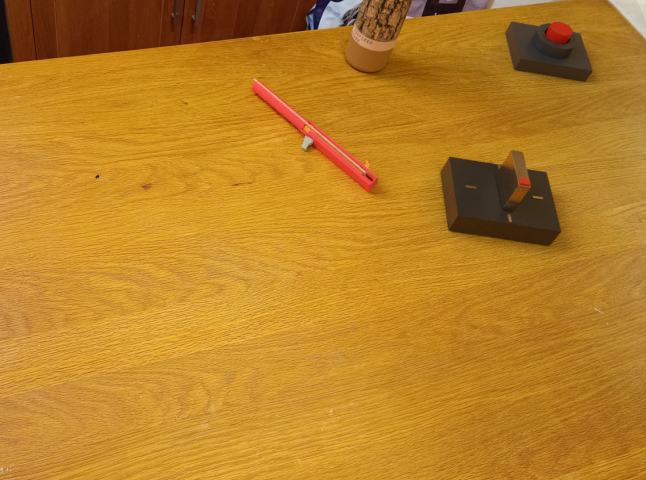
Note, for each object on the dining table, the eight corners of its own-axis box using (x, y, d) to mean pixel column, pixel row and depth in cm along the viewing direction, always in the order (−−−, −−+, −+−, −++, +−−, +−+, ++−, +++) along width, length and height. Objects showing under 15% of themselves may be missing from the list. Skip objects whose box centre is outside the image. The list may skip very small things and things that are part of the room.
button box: (573, 44, 125) (586, 23, 122) (585, 82, 120) (599, 61, 117) (505, 32, 125) (516, 11, 121) (514, 70, 119) (526, 48, 116)
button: (564, 33, 120) (570, 23, 119) (568, 46, 118) (575, 37, 117) (543, 29, 120) (549, 19, 119) (547, 42, 118) (553, 33, 117)
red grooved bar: (358, 201, 100) (383, 180, 101) (359, 193, 98) (385, 171, 99) (240, 99, 108) (264, 81, 109) (239, 90, 106) (263, 71, 107)
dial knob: (495, 174, 101) (512, 148, 97) (506, 176, 101) (524, 150, 97) (501, 209, 97) (519, 183, 93) (513, 211, 97) (532, 185, 93)
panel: (535, 187, 105) (547, 171, 102) (549, 246, 99) (562, 230, 96) (440, 172, 104) (449, 155, 101) (448, 230, 98) (458, 214, 95)
